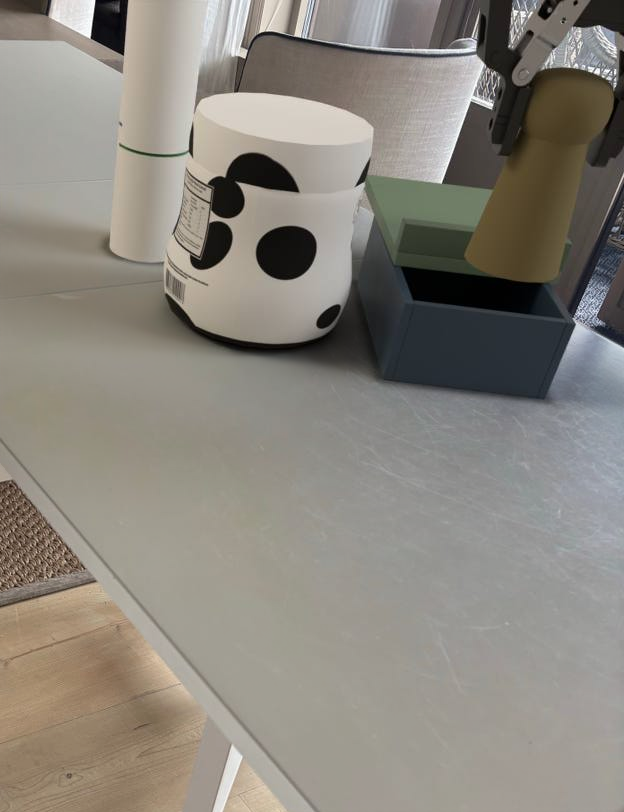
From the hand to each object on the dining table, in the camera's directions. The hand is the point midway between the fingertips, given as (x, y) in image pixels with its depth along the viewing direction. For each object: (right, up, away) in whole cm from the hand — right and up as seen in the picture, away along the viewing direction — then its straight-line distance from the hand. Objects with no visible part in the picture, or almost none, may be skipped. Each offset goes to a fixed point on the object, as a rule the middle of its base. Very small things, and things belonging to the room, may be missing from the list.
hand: (547, 156), depth 59 cm
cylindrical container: (-25, +12, +45) cm, 53 cm away
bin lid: (+6, +11, +37) cm, 39 cm away
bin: (+5, 0, +36) cm, 36 cm away
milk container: (-14, +1, +35) cm, 38 cm away
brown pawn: (-1, -5, +4) cm, 7 cm away
